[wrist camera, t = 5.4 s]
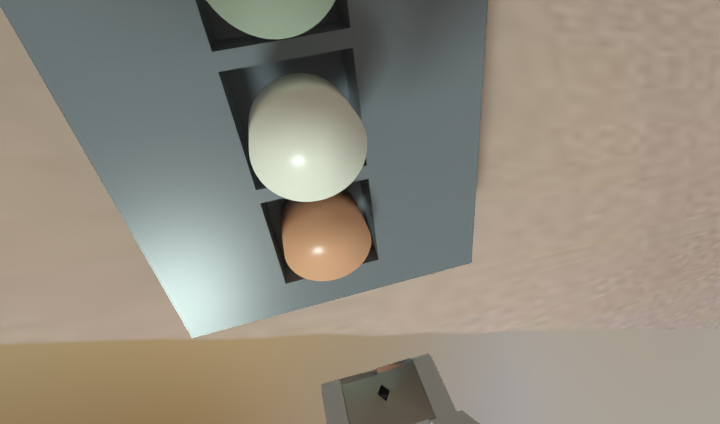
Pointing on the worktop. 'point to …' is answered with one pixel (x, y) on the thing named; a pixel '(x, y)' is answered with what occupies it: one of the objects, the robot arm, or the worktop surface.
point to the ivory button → (305, 138)
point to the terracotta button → (324, 237)
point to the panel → (231, 137)
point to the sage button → (272, 16)
